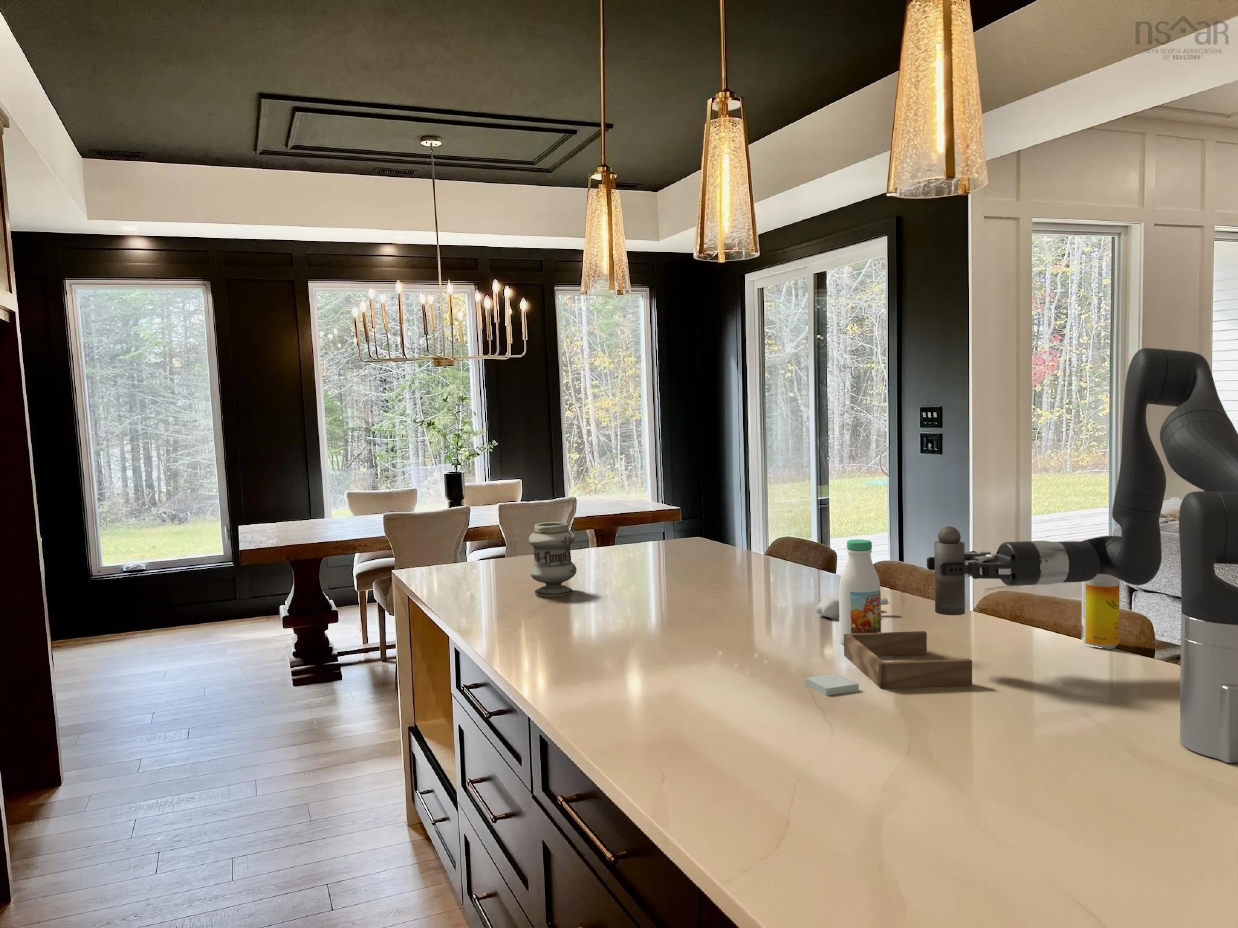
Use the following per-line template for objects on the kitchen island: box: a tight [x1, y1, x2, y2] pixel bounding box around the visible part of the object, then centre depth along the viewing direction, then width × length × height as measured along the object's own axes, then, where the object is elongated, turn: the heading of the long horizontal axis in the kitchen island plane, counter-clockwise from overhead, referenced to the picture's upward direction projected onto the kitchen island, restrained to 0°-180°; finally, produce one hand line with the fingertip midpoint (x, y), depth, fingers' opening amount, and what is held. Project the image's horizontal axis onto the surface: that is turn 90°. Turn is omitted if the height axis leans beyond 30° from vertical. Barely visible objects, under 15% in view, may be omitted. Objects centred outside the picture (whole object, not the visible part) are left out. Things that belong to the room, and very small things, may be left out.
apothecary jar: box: [528, 521, 577, 597], centre depth 217 cm, size 12×12×18 cm
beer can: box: [1081, 574, 1121, 650], centre depth 156 cm, size 6×6×15 cm
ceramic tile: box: [805, 673, 860, 696], centre depth 136 cm, size 6×6×2 cm
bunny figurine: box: [815, 594, 889, 620], centre depth 185 cm, size 10×5×15 cm
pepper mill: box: [933, 526, 966, 616], centre depth 144 cm, size 5×5×15 cm
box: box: [843, 630, 973, 689], centre depth 145 cm, size 19×15×4 cm
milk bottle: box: [838, 538, 882, 646], centre depth 161 cm, size 8×8×20 cm
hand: (934, 566), depth 144 cm, fingers closed on pepper mill, 4 cm apart
